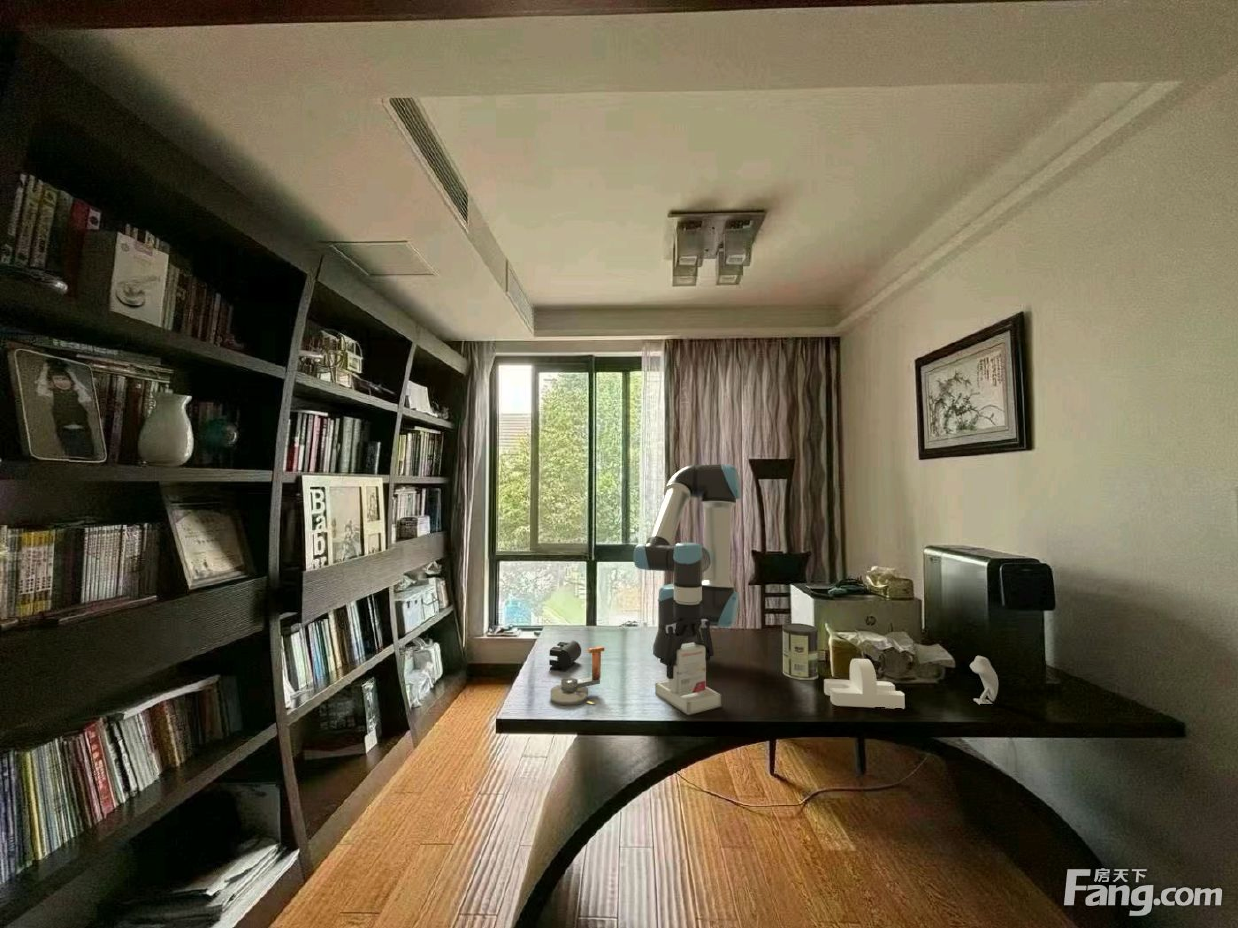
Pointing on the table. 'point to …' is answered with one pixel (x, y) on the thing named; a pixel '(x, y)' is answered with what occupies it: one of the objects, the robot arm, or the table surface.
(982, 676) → the figurine
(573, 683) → the crank
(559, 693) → the crank housing
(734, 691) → the table surface
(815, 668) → the coffee can
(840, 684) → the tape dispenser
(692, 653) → the ink box
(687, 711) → the tray
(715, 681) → the table surface
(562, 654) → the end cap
